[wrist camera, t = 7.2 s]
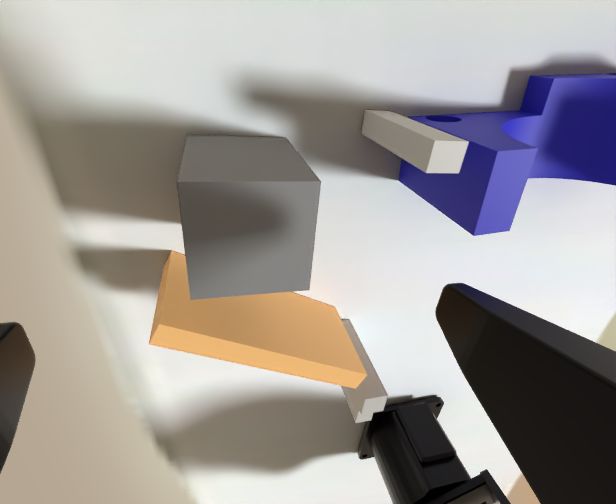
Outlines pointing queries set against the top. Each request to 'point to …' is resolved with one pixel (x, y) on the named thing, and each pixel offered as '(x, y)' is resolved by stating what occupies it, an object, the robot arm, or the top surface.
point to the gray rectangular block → (246, 215)
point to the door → (255, 330)
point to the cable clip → (523, 149)
